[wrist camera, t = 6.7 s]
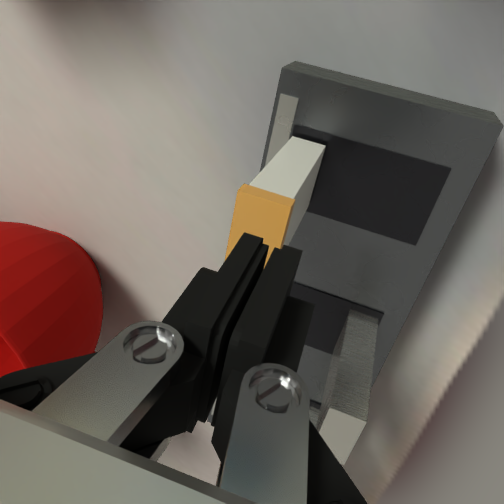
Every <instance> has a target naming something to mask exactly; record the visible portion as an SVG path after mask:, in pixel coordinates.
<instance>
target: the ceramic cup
mask: <svg viewBox="0 0 504 504" xmlns="http://www.w3.org/2000/svg"><path fill="white" fill-rule="evenodd" d="M102 318H103V301H102V291H101V279H100V276H99V272H98V270H97V268H96V266H95V264H94V262H93V261H92V259H91V258H90V256H89V255H88V254H87V253H86V251H85V250H84V249H83V248H82V247H81V246H79V245H78V244H77V243H76V242H75V241H73V240H71V239H70V238H68V237H67V236H64V235H62V234H60V233H57V232H54V231H49V230H46V229H43V228H39V227H36V226H32V225H28V224H23V223H14V222H0V377H2V376H4V375H6V374H9V373H11V372H14V371H17V370H22V369H26V368H30V367H35V366H39V365H44V364H48V363H52V362H57V361H61V360H65V359H70V358H74V357H78V356H83V355H87V354H91V353H96V352H95V351H94V350H95V348H96V345H97V342H98V339H99V336H100V331H101V325H102Z"/></svg>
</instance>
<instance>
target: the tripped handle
mask: <svg viewBox="0 0 504 504" xmlns="http://www.w3.org/2000/svg"><path fill="white" fill-rule="evenodd" d="M325 147H326V146H325V145H322V144H318V143H315V142H311V141H308V140H304V139H301V138H297V137H294V136H292V137H291V139H290V140H289V141H288V142H287V143H286V144H285V145H284V146H283V147H282V149H281V150H280V151H279V152H278V153H277V154H276V155H275V156H274V157H273V159H272V160H271V161H270V162H269V163H268V164H267V165H266V166H265V167H264V169H263V170H262V171H261V172H260V173H259V174H258V175H257V176H256V177H255V178H254V180H253V181H252V182H251V183H250V184H249V185H247V184H243V185H242V186H241V187H240V189H239V190H238V192H237V197H236V203H235V208H234V213H233V219H232V224H231V230H230V235H229V240H228V246H227V251H226V256H225V260H226V259H227V257H228V256H229V254H230V253H231V251H232V250H233V248H234V247H235V245H236V244H237V242H238V241H239V239H240V238H241V236H242V234H243V233H244V232H246V233H249V234H252V235H255V236H258V237H261V238H263V244H266V245H269V249H268V254H267V258H266V262H265V265H266V263H267V261H268V259H269V257H270V255H271V253H272V251H273V249H274V248H275V247H276V248H279V249H282V247H283V245H287V246H288V245H289V243H290V241H291V239H292V237H293V235H294V233H295V231H296V230H297V228H298V226H299V224H300V222H301V220H302V218H303V216H304V214H305V212H306V210H307V208H308V206H309V202H310V199H311V195H312V192H313V188H314V185H315V181H316V178H317V174H318V171H319V168H320V164H321V161H322V157H323V154H324V150H325ZM264 267H265V266H264Z"/></svg>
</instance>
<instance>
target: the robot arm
mask: <svg viewBox="0 0 504 504" xmlns="http://www.w3.org/2000/svg"><path fill="white" fill-rule="evenodd" d="M268 249H269V245H266V244H263V238H261V237H258V236H255V235H252V234H249V233H246V232H244V233H243V234H242V236H241V238H240V239H239V241H238V242H237V244H236V245H235V247H234V248H233V250H232V251H231V253H230V254H229V256H228V257H227V259H226V260H225V262H224V263H223V265H222V266H221V268H220V269H219V271H218V272H216V271H213V270H210V269H207V268H204V267H203V268H201V269H200V270H199V271H198V273H197V274H196V275H195V277H194V278H193V279H192V281H191V282H190V284H189V285H188V286H187V288H186V289H185V290H184V292H183V293H182V295H181V296H180V297H179V299H178V300H177V301H176V303H175V304H174V306H173V307H172V308H171V310H170V311H169V312H168V314H167V315H166V316H165V318H164V319H163V321H162V322H157V321H143V322H138V323H135V324H132V325H130V326H129V327H127V328H125V329H124V330H123V331H121V332H120V333H119V334H118V335H117V336H116V337H115V338H114V339H112V340H111V341H110V342H109V343H108V344H107V345H106V346H104V347H103V348H102V349H101V350H100V351H99V352H96V353H91V354H87V355H83V356H78V357H74V358H70V359H65V360H61V361H57V362H52V363H48V364H44V365H39V366H35V367H30V368H26V369H22V370H17V371H14V372H11V373H9V374H6V375H4V376H2V377H0V504H367V502H366V501H365V499H364V498H363V496H362V495H361V493H360V492H359V491H358V489H357V488H356V486H355V485H354V483H353V482H352V480H351V479H350V477H349V476H348V474H347V473H346V472H345V470H344V469H343V467H342V466H341V464H340V463H339V461H338V460H337V458H336V457H335V456H334V454H333V453H332V451H331V450H330V448H329V447H328V445H327V444H326V442H325V441H324V439H323V438H322V437H321V435H320V434H319V432H318V431H317V429H316V428H315V426H314V425H313V423H312V422H311V421H310V419H309V406H310V396H309V390H308V387H307V385H306V383H305V382H304V380H303V379H302V378H301V377H300V376H299V375H298V374H297V370H298V366H299V363H300V359H301V355H302V352H303V348H304V344H305V341H306V337H307V333H308V329H309V326H310V322H311V318H312V315H313V311H314V307H315V304H313V303H310V302H307V301H304V300H300V299H297V298H294V297H291V296H289V295H290V292H291V289H292V285H293V282H294V279H295V275H296V272H297V269H298V265H299V262H300V259H301V255H302V252H303V250H299V249H296V248H293V247H290V246H287V245H283V247H282V249H279V248H276V247H275V248H274V249H273V251H272V253H271V255H270V257H269V259H268V261H267V263H266V265H265V262H266V258H267V254H268ZM264 266H265V267H264ZM216 398H217V399H216ZM215 400H216V404H215V408H214V413H213V417H212V422H211V426H214V432H213V436H212V441H211V442H212V444H213V447H214V449H215V451H216V453H217V455H218V457H219V459H220V461H221V463H220V467H219V472H218V476H217V481H216V486H214V485H212V484H209V483H207V482H204V481H202V480H199V479H197V478H195V477H192V476H190V475H187V474H185V473H182V472H180V471H177V470H175V469H172V468H170V467H167V466H165V465H163V464H160V463H158V462H157V460H158V459H159V458H160V456H161V455H162V453H163V452H164V451H165V449H166V448H167V446H168V444H169V442H170V439H171V437H172V436H175V435H178V434H180V433H183V432H186V431H188V432H190V433H192V431H193V429H194V427H195V425H196V423H197V421H201V422H203V423H205V422H206V420H207V418H208V416H209V413H210V411H211V409H212V407H213V405H214V402H215Z"/></svg>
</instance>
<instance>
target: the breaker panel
mask: <svg viewBox="0 0 504 504" xmlns="http://www.w3.org/2000/svg"><path fill="white" fill-rule="evenodd" d="M502 128H503V124H502V123H501V122H500V120H499V119H498V117H497V116H496V115H495V113H494V112H490V111H487V110H483V109H479V108H475V107H471V106H467V105H463V104H460V103H456V102H452V101H448V100H444V99H440V98H436V97H432V96H429V95H425V94H421V93H417V92H413V91H409V90H405V89H402V88H398V87H394V86H390V85H386V84H382V83H378V82H375V81H371V80H367V79H363V78H359V77H355V76H351V75H347V74H344V73H340V72H336V71H332V70H328V69H324V68H320V67H317V66H313V65H309V64H305V63H301V62H297V61H294V62H292V63H290V64H288V65H286V66H284V67H282V70H281V74H280V79H279V84H278V89H277V93H276V98H275V103H274V107H273V112H272V117H271V122H270V126H269V131H268V136H267V141H266V145H265V150H264V155H263V160H262V164H261V169H260V172H261V171H262V170H263V169H264V167H265V166H266V165H267V164H268V163H269V162H270V161H271V160H272V159H273V157H274V156H275V155H276V154H277V153H278V152H279V151H280V150H281V149H282V147H283V146H284V145H285V144H286V143H287V142H288V141H289V140H290V139H291V137H292V136H294V137H297V138H301V139H304V140H308V141H311V142H315V143H318V144H322V145H325V146H326V147H325V150H324V154H323V157H322V161H321V164H320V168H319V171H318V174H317V178H316V181H315V185H314V188H313V192H312V195H311V199H310V202H309V206H308V208H307V210H306V212H305V214H304V216H303V218H302V220H301V222H300V224H299V226H298V228H297V230H296V231H295V233H294V235H293V237H292V239H291V241H290V243H289V245H288V246H290V247H293V248H296V249H299V250H303V252H302V255H301V259H300V262H299V265H298V269H297V272H296V275H295V279H294V282H293V285H292V289H291V292H290V295H289V296H291V297H294V298H297V299H300V300H304V301H307V302H310V303H313V304H315V307H314V311H313V315H312V318H311V322H310V326H309V329H308V333H307V337H306V341H305V344H304V348H303V352H302V355H301V359H300V363H299V366H298V370H297V374H298V375H299V376H300V377H301V378H302V379H303V380H304V382H305V383H306V385H307V387H308V390H309V396H310V406H309V419H310V421H311V422H312V423H313V425H314V426H315V428H316V429H317V431H318V432H319V434H320V435H321V437H322V438H323V439H324V441H325V442H326V444H327V445H328V447H329V448H330V450H331V451H332V453H333V454H334V456H335V457H336V458H337V460H338V461H339V463H340V464H342V465H344V464H345V462H346V461H347V459H348V457H349V455H350V453H351V451H352V449H353V447H354V445H355V444H356V442H357V440H358V438H359V436H360V434H361V432H362V430H363V429H364V427H365V425H366V423H367V417H368V408H369V399H370V390H371V387H372V385H373V384H374V382H375V380H376V378H377V376H378V374H379V372H380V370H381V368H382V366H383V364H384V362H385V360H386V358H387V356H388V354H389V352H390V350H391V348H392V346H393V344H394V342H395V340H396V338H397V336H398V334H399V332H400V330H401V328H402V326H403V324H404V322H405V320H406V318H407V316H408V314H409V312H410V310H411V308H412V306H413V304H414V302H415V300H416V298H417V296H418V295H419V293H420V291H421V289H422V287H423V285H424V283H425V281H426V279H427V277H428V275H429V273H430V271H431V269H432V267H433V265H434V263H435V261H436V259H437V257H438V255H439V253H440V251H441V249H442V247H443V245H444V243H445V241H446V239H447V237H448V235H449V233H450V231H451V229H452V227H453V225H454V223H455V221H456V219H457V217H458V215H459V213H460V211H461V209H462V207H463V206H464V204H465V202H466V200H467V198H468V196H469V194H470V192H471V190H472V188H473V186H474V184H475V182H476V180H477V178H478V176H479V174H480V172H481V170H482V168H483V166H484V164H485V162H486V160H487V158H488V156H489V154H490V152H491V150H492V148H493V146H494V144H495V142H496V140H497V138H498V136H499V134H500V132H501V130H502ZM216 399H217V398H216ZM215 404H216V400H215V402H214V405H213V407H212V409H211V411H210V413H209V416H208V420H207V421H208V422H210V423H211V422H212V417H213V413H214V408H215Z"/></svg>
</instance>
